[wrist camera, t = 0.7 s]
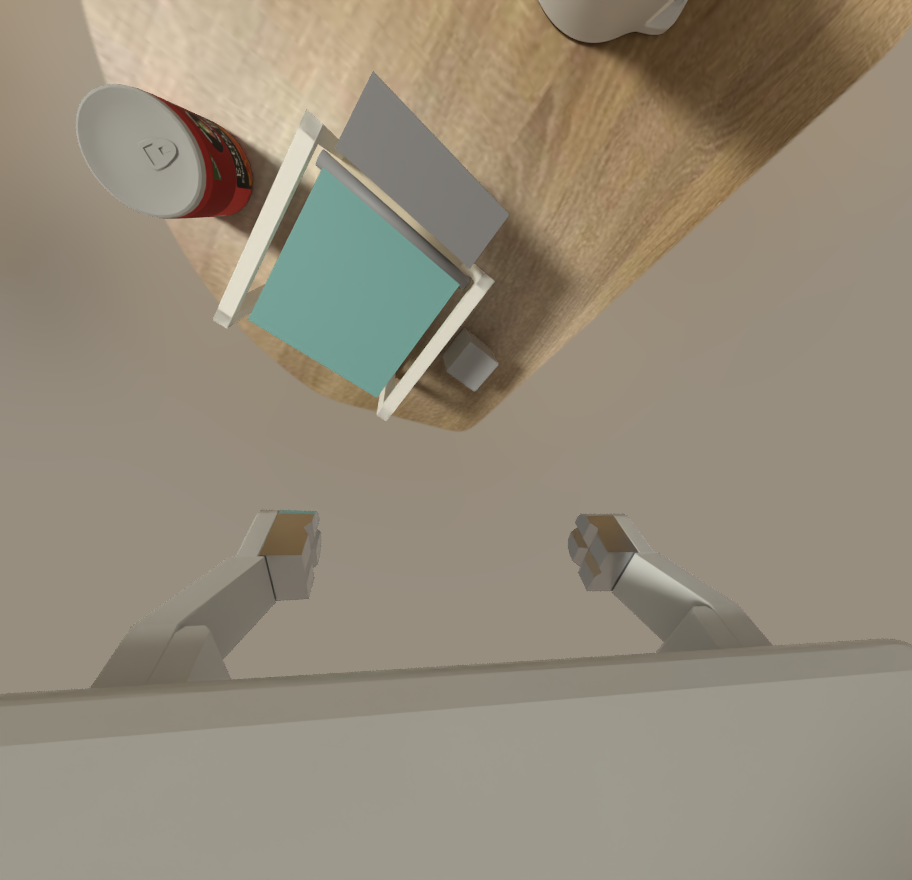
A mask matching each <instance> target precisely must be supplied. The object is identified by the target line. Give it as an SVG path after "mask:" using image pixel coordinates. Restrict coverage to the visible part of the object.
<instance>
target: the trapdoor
mask: <svg viewBox="0 0 912 880" xmlns="http://www.w3.org/2000/svg"><path fill="white" fill-rule="evenodd" d="M335 148H336V149H337V150H338V151H339V152H340V153H341V154H342V155H344V156H345V157H346V158H347V159H348V160H349V161H350V162H351V163H352V164H354V165H355V166H356V167H357V168H358V169H359V170H360V171H361V172H362V173H364V174H365V175H366V176H367V177H368V178H369V179H370V180H371V181H372V182H374V183H375V184H376V185H377V186H378V187H379V188H380V189H381V190H382V191H384V192H385V193H386V194H387V195H388V196H389V197H390V198H391V199H392V200H394V201H395V202H396V203H397V204H398V205H399V206H400V207H401V208H403V209H404V210H405V211H406V212H407V213H408V214H409V215H410V216H411V217H413V218H414V219H415V220H416V221H417V222H418V223H419V224H420V225H421V226H423V227H424V228H425V229H426V230H427V231H428V232H429V233H430V234H431V235H433V236H434V237H435V238H436V239H437V240H438V241H439V242H440V243H441V244H443V245H444V246H445V247H446V248H447V249H448V250H449V251H450V252H451V253H453V254H454V255H455V256H456V257H457V258H458V259H459V260H460V261H461V262H463V263H464V264H465V265H466V266H467V267H468V268H469V269H470V268H471V267H472V265H473V264H474V262H475V261H476V260H477V258H478V257H479V256H480V254H481V253H482V252H483V250H484V249H485V247H486V246H487V245H488V243H489V242H490V241H491V239H492V238H493V237H494V235H495V234H496V232H497V231H498V230H499V228H500V227H501V226H502V224H503V223H504V222H505V220H506V219H507V217H508V216H509V215H510V214H509V213H508V212H507V211H506V210H505V209H504V208H503V207H502V206H501V205H500V204H499V203H498V202H497V201H496V200H495V199H494V198H493V196H492V195H491V194H490V193H489V192H488V191H487V190H486V189H485V188H484V187H483V186H482V185H481V184H480V183H479V182H478V181H477V180H476V179H475V178H474V176H473V175H472V174H471V173H470V172H469V171H468V170H467V169H466V168H465V167H464V166H463V165H462V164H461V163H460V162H459V161H458V160H457V159H456V158H455V157H454V155H453V154H452V153H451V152H450V151H449V150H448V149H447V148H446V147H445V146H444V145H443V144H442V143H441V142H440V141H439V140H438V139H437V138H436V137H435V135H434V134H433V133H432V132H431V131H430V130H429V129H428V128H427V127H426V126H425V125H424V124H423V123H422V122H421V121H420V120H419V119H418V118H417V117H416V116H415V114H414V113H413V112H412V111H411V110H410V109H409V108H408V107H407V106H406V105H405V104H404V103H403V102H402V101H401V100H400V99H399V98H398V97H397V96H396V94H395V93H394V92H393V91H392V90H391V89H390V88H389V87H388V86H387V85H386V84H385V83H384V82H383V81H382V80H381V79H380V78H379V77H378V76H377V75H376V73H375V72H374V71H373V72H372V74H371V76H370V78H369V80H368V82H367V84H366V86H365V88H364V90H363V92H362V94H361V96H360V98H359V100H358V102H357V104H356V106H355V109H354V111H353V113H352V115H351V117H350V119H349V121H348V123H347V125H346V127H345V129H344V131H343V133H342V135H341V137H340V139H339V141H338V143H337V145H336V147H335ZM316 166H317V167H318V168H320V169H321V172H320V174H319V176H318V178H317V180H316V182H315V184H314V186H313V188H312V190H311V192H310V194H309V196H308V198H307V200H306V203H305V205H304V207H303V209H302V211H301V213H300V215H299V217H298V219H297V221H296V223H295V225H294V227H293V229H292V231H291V233H290V235H289V237H288V239H287V241H286V243H285V245H284V247H283V249H282V251H281V253H280V255H279V257H278V259H277V261H276V264H275V266H274V268H273V270H272V272H271V274H270V276H269V278H268V280H267V282H266V284H265V286H264V288H263V290H262V292H261V294H260V296H259V298H258V300H257V302H256V304H255V306H254V308H253V310H252V312H251V314H250V316H249V318H248V320H249V321H251V322H253V323H254V324H256V325H258V326H259V327H261V328H263V329H264V330H266V331H268V332H269V333H271V334H272V335H274V336H276V337H277V338H279V339H281V340H282V341H284V342H286V343H287V344H289V345H291V346H292V347H294V348H296V349H297V350H299V351H301V352H302V353H304V354H305V355H307V356H309V357H310V358H312V359H314V360H315V361H317V362H319V363H320V364H322V365H324V366H325V367H327V368H329V369H330V370H332V371H334V372H335V373H337V374H339V375H340V376H342V377H343V378H345V379H347V380H348V381H350V382H352V383H353V384H355V385H357V386H358V387H360V388H362V389H363V390H365V391H367V392H368V393H370V394H372V395H373V396H375V397H376V398H377V397H378V395H379V394H380V393H381V391H382V390H383V389H384V387H385V386H386V384H387V383H388V382H389V380H390V379H391V378H392V376H393V375H394V374H395V372H396V371H397V370H398V368H399V367H400V365H401V364H402V363H403V361H404V360H405V359H406V357H407V356H408V355H409V353H410V352H411V351H412V349H413V348H414V346H415V345H416V344H417V342H418V341H419V340H420V338H421V337H422V336H423V334H424V333H425V332H426V330H427V329H428V327H429V326H430V325H431V323H432V322H433V321H434V319H435V318H436V317H437V315H438V314H439V312H440V311H441V310H442V308H443V307H444V306H445V304H446V303H447V302H448V300H449V299H450V298H451V296H452V295H453V293H454V292H455V291H456V289H457V288H458V287H459V288H460V289H461V290H463V289H464V288H465V287H466V286H467V284H468V283H469V281H470V278H469V277H468V276H467V275H466V274H464V273H463V272H462V271H461V270H460V269H459V268H458V267H456V266H455V265H454V264H453V263H452V262H451V261H450V260H449V259H447V258H446V257H445V256H444V255H443V254H442V253H441V252H440V251H438V250H437V249H436V248H435V247H434V246H433V245H432V244H430V243H429V242H428V241H427V240H426V239H425V238H424V237H423V236H421V235H420V234H419V233H418V232H417V231H416V230H415V229H413V228H412V227H411V226H410V225H409V224H408V223H407V222H406V221H404V220H403V219H402V218H401V217H400V216H399V215H398V214H397V213H395V212H394V211H393V210H392V209H391V208H390V207H389V206H387V205H386V204H385V203H384V202H383V201H382V200H381V199H380V198H378V197H377V196H376V195H375V194H374V193H373V192H372V191H371V190H369V189H368V188H367V187H366V186H365V185H364V184H363V183H361V182H360V181H359V180H358V179H357V178H356V177H355V176H354V175H352V174H351V173H350V172H349V171H348V170H347V169H346V168H344V167H343V166H342V165H341V164H340V163H339V162H338V161H337V160H335V159H334V158H333V157H332V156H331V155H330V154H329V153H328V152H326V151H325V150H322V152H321V153H320V155H319V157H318V159H317V162H316Z"/></svg>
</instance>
